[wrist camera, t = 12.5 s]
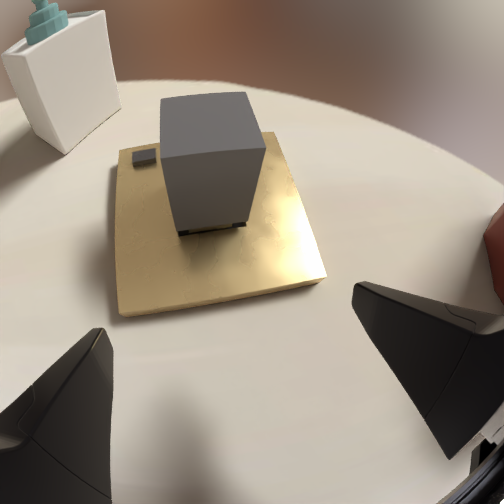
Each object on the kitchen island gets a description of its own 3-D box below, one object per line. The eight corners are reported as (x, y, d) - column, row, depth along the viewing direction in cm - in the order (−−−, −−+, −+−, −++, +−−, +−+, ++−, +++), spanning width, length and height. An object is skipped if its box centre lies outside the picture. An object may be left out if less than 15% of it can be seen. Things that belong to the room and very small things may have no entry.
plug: (244, 234, 20) (266, 147, 12) (179, 244, 19) (160, 158, 11) (232, 182, 22) (245, 91, 14) (174, 190, 21) (160, 98, 13)
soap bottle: (84, 93, 26) (59, -28, 8) (123, 107, 25) (102, -44, 7) (35, 134, 22) (-13, 11, 5) (65, 156, 21) (6, -4, 4)
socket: (318, 282, 20) (329, 273, 18) (125, 317, 17) (115, 311, 15) (270, 143, 25) (275, 127, 23) (123, 161, 22) (117, 145, 20)
